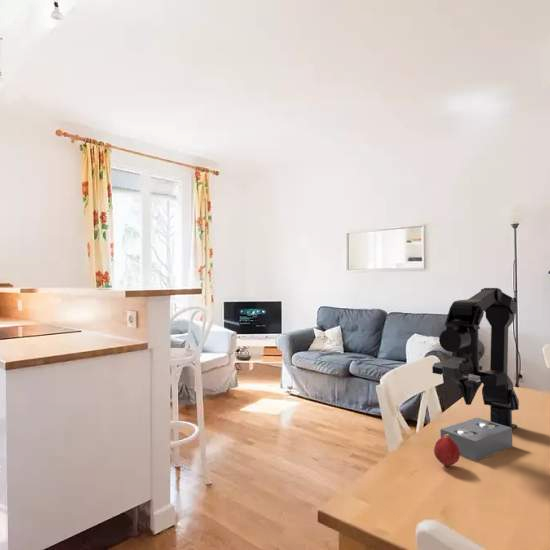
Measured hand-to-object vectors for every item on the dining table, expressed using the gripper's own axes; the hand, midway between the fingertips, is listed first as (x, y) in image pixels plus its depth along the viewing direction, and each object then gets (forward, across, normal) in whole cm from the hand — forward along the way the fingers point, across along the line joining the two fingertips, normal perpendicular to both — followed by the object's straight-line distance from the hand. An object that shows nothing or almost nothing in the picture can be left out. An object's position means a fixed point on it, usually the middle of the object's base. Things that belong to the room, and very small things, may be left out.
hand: (468, 404), depth 109 cm
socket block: (+12, +1, +2) cm, 12 cm away
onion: (+12, +4, -15) cm, 19 cm away
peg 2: (+12, +1, +7) cm, 14 cm away
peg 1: (+12, +1, -3) cm, 12 cm away
